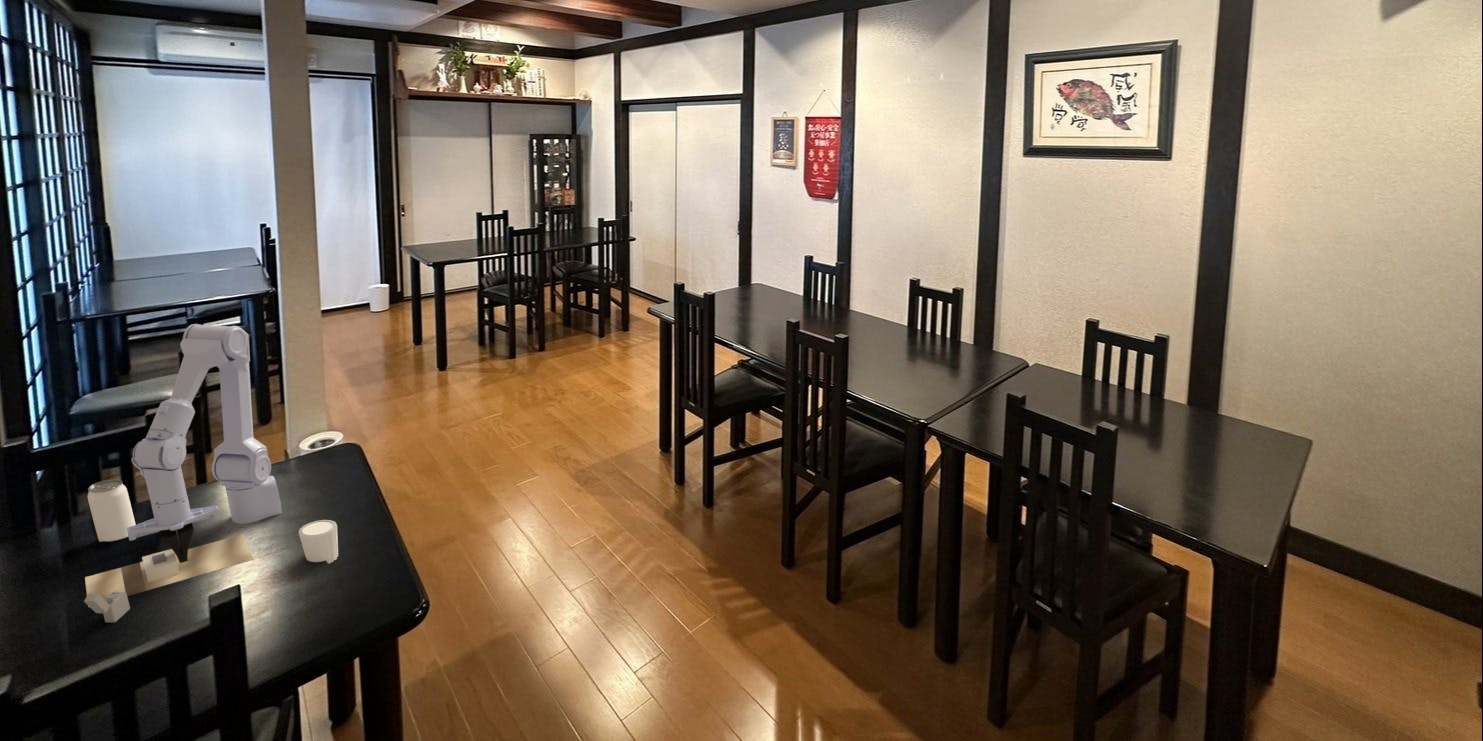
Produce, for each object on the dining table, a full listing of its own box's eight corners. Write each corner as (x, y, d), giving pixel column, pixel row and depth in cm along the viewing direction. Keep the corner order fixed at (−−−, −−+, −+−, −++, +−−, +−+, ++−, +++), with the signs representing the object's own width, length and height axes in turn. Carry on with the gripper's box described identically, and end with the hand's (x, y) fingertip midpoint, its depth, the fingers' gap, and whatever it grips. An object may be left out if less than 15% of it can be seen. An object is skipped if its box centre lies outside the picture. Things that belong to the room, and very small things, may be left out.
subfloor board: (243, 538, 169) (242, 534, 169) (254, 563, 160) (253, 559, 160) (86, 581, 153) (84, 577, 153) (89, 612, 145) (88, 607, 144)
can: (117, 547, 165) (103, 494, 161) (91, 543, 166) (76, 490, 162) (145, 531, 171) (133, 480, 167) (119, 527, 172) (106, 476, 168)
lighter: (122, 612, 145) (112, 574, 142) (132, 612, 145) (122, 574, 142) (93, 638, 138) (82, 597, 135) (104, 637, 138) (93, 597, 135)
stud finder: (175, 559, 159) (172, 547, 158) (179, 573, 155) (176, 560, 154) (144, 568, 156) (141, 555, 155) (148, 582, 152) (144, 569, 151)
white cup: (303, 571, 158) (298, 539, 156) (303, 554, 164) (298, 523, 162) (342, 562, 161) (337, 532, 159) (340, 546, 167) (336, 516, 165)
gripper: (123, 517, 146) (139, 582, 150) (217, 494, 155) (229, 556, 159) (120, 502, 151) (135, 565, 155) (210, 481, 160) (223, 541, 164)
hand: (183, 559), depth 157 cm, fingers closed
